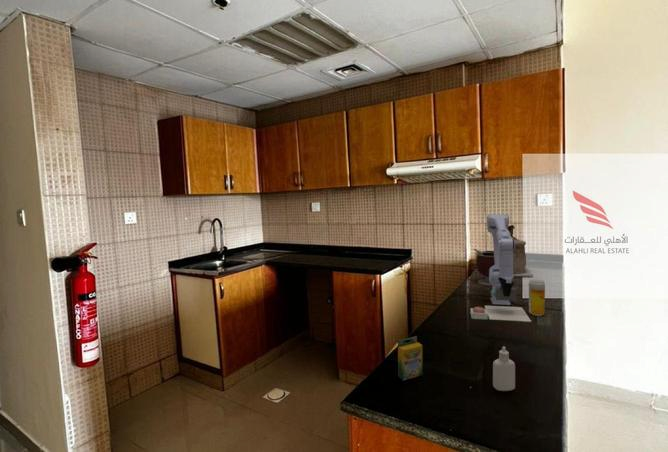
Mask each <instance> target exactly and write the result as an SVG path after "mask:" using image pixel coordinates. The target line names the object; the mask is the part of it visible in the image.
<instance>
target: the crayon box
mask: <svg viewBox="0 0 668 452" xmlns="http://www.w3.org/2000/svg"><path fill="white" fill-rule="evenodd" d="M406 341H408V342H406ZM397 365H398V366H397V372H398V374H397V375H398V378H400V379H401V381H407V380H411V379H414V378H418V377H421V376H423V374H424V372H423V368H424V367H423V344H421V343H420V342H418V336H417V335H416V336H411V337H407V338H403V339H400V340H399V339H398V340H397Z"/></svg>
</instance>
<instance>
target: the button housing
mask: <svg viewBox="0 0 668 452" xmlns="http://www.w3.org/2000/svg"><path fill="white" fill-rule="evenodd" d="M483 311H484V313H474V308H473V307H471V308H470V317H471V319H473V320H489V317H488V314H487V311H486V309H485V308H483Z"/></svg>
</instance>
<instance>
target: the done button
mask: <svg viewBox="0 0 668 452" xmlns="http://www.w3.org/2000/svg"><path fill="white" fill-rule="evenodd" d="M483 309H484V307H482V306H475V307H474V313H484V311H483Z"/></svg>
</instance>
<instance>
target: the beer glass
mask: <svg viewBox="0 0 668 452" xmlns="http://www.w3.org/2000/svg"><path fill="white" fill-rule="evenodd" d="M545 300H546V284H545V281H544V280H541V279H537V278H536V279H534V278H532V279H530V280H529V282H528V313H529V314H530V315H531V314H532V315H531V316H534V315H535V317H542V315H545V313H546V312H545V310H546V308H545V306H546V305H545V303H546V302H545Z"/></svg>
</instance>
